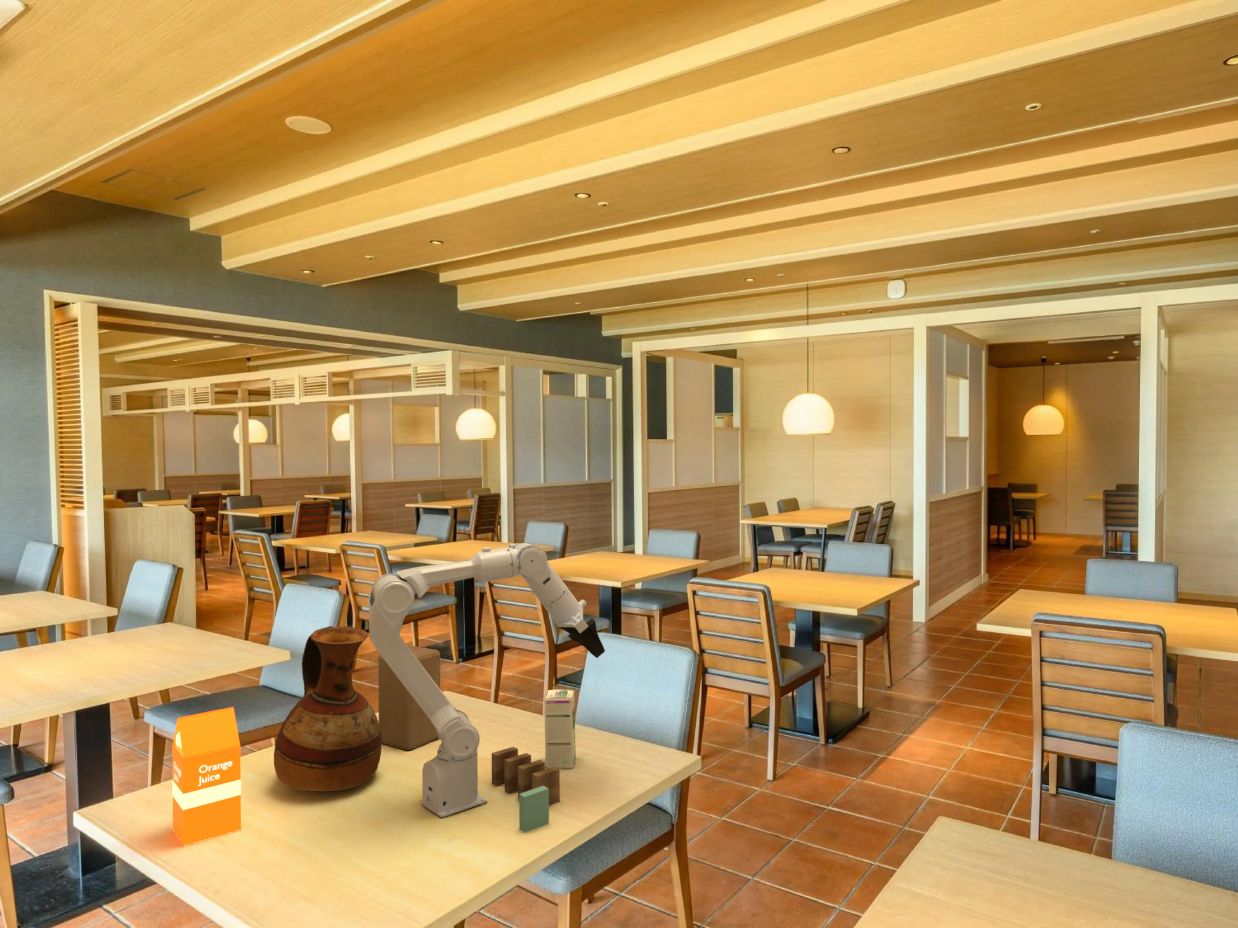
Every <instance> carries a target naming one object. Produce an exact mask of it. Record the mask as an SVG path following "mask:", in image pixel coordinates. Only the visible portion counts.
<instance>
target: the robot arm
mask: <svg viewBox="0 0 1238 928" xmlns="http://www.w3.org/2000/svg"><path fill="white" fill-rule="evenodd" d="M481 550H482V551H477V552H475V553H474V555H473V556H472V558H470V559H469V560H463V561H462V560H461V561H455V562H447V563H440V564H431V565H430V564H429V565H423V566H417V567H409V568H406V569H402V570H401V569H400V570H398V571H396V573H386V574H383V575H381V576H379V577H378V578H377V579H376V580H375V582H374V583H373V585H372V587H371V590H370V593H369V597H368V600H367V601H368V603H367V604H368V636H369V639H370V642H371V644H372V646H374V648H375V649H376V651H377V652H378V653H379V655H381V656H382V657H383V659H384V660H385V661H386V663H387V664H388V665H389V667H390V668H391V669H392V670H393V672H394V673H395V674H396V676H397V677H398V678H399V680H400V681H401V682H402V684H403V685H404V686H405V688H406V689H407V690H408V691H409V693H410V694H411V695H412V697H413V698H414V699H415V701H416V702H417V703H418V705H419V706H420V707H421V708H422V710H423V711H424V712H425V714H426V715H427V716H428V718H429V719H430V720H431V722H432V723H433V725H434V726H435V728H436V733H437V735H438V737H439V738H438V739H439V740H440V742H441V743H440V745H439V747H438V749H437V751H436V753H437V754H436V755H435V756H434V757H433V758H432V759H430V760H428V761H426V762H424V764H423V767H422V771H421V772H422V778H421V779H422V787H421V788H422V800H420V804H421V805H422V806H423V807H425V808H427V809H428V810H429V811H431V812H433V813H434V814H435V815H437V816H438V817H440V818H445V817H447V816H450V815H453V814H456V813H459V812H462V811H466V810H468V809H471V808H473V807H476V806H479V805H482V804H486V803H487V802H488V799H487V798H486V797H485V796H482V794H479V791H478V790H479V789H478V787H479V786H478V785H479V784H478V783H479V782H478V777H479V776H478V775H479V774H478V773H479V772H478V770H479V769H478V764H479V763H478V747H479V746H480V739H481V738H480V733H479V730H477V727H475V726H474V725H473V724H472V722H471V721H470V718H469V716H468V715H467V714H466V712H464V711H462V710H459V709H458V708H456V707H455V706H454V705H453V704H452V702H451V701H450V700H449V699H448V698H447V696H446V695H445V694H444V692H443V691H442V690H441V687H440V688H439V687H438V686H437V684H436V683H435V682H434V680H433V679H432V678H431V676H430V675H429V674H428V672H427V671H426V670H425V668H424V667H423V666H422V664H421V663H420V662H419V660H418V659H417V658H416V656H415V655H414V654H413V652H412V651H411V650H410V648H409V647H408V646H409V645H408V644H407V643H406V642H405V640H404V639H403V638H402V636H401V631H402V627H403V623H404V619H405V618H406V616H407V615H408V613H409V612H410V611H411V608H412V607H413V605H414V602H415V596H417V597H418V599H420V598H422V597H423V596H424V595H425V593H427V591H429V589H430V588H431V587H436V586H439V585H443V584H447V583H453V582H459V581H462V580H467V579H473V578H474V579H475V580H476V581H478V582H479V583H480V584H483V583H488V582H493V581H499V580H506V579H510V578H515V577H517V576H518V575H521V577H522V578H523V579H524V580H525V582H526V583H527V584H528V587H529V589H530V590H531V592H532V593H533V594H534V595H535V597H536V598H537V599H538V601H539V602H540V603H541V605H542V606H543V607H544V609H545V610H546V611H547V613H549V615H550V617H551V618H552V619H553V621H554V623H555V625H556V626H557V627H558V628H559V629H560V630H564V631H565V632H567V633H568V634H567V636H568V638H569V639H570V640H571V641H573V642H575V643H578V644H579V645H581V646H582V647H584V648H585V649H586V650H587V651H588V652H589V653H590V654H591V655H592V656H593V657H594V658H596V659H598V658H600V656H601V655H603V654H604V653H605V652H606V649H605V647H604V645H603V643H602V641H601V638H600V636H599V633H598V630H597V624H596V621H595V620H596V619H595V618H590V619H589V620H587V622H586V621H585V620H584V607H585V606H587V604H588V603H587V602H586V601H585V599H581V600H579V601H578V600H577V598H576V597H575V596H574V594H573V593H572V592H571V590H570V589H569V588H568V586H567V585H566V584H565V582H564V581H563V580H562V578H561V577H560V576H559V574H558V573H557V571H556V570H555V569H554V568H553V567H552V566H551V564H550V563H549V561H548V555H547V553H546V551H545V550H542V548H541V547H539V546H538V545H534V544H530V543H528V542H517V543H510V544H508V547H507V546H505V547H501V548H495V549H494V548H493V549H491V547H489V546H486V547H482V548H481Z"/></svg>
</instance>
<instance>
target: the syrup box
mask: <svg viewBox="0 0 1238 928" xmlns="http://www.w3.org/2000/svg"><path fill="white" fill-rule="evenodd" d="M575 707H576V706H575V690H574V689H566V688H565V689H562V688H561V689H560V688H559V689H550V690H549V689H548V690H547V693H546V695H544V742H545V743H544V744H545V746H544V747H545V751H544V752H545V753H544V754H545V769H548V768H551V767H556V768H559V769H560V770H562V769H563V770H565V769H574V766H575V762H576V758H577V755H576V752H577V751H576V748H577V747H576V712H575V711H576V710H575V709H576V708H575Z"/></svg>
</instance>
